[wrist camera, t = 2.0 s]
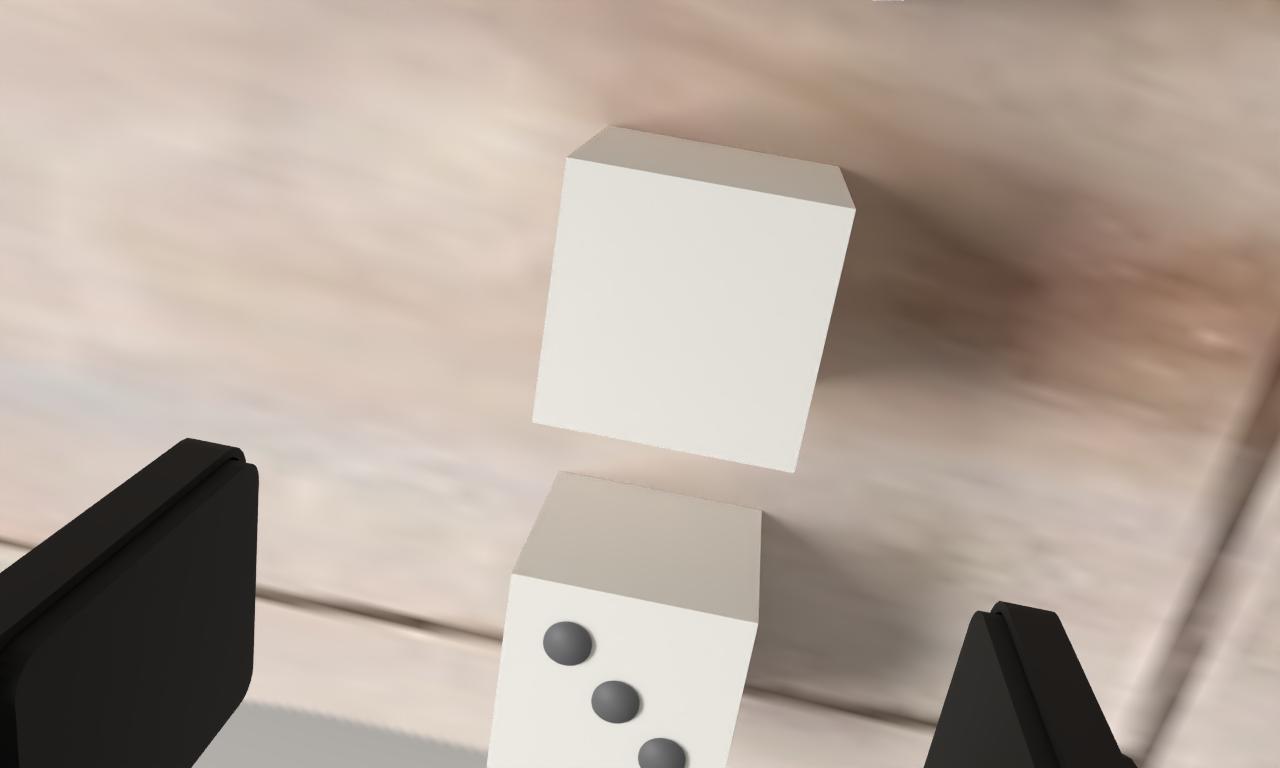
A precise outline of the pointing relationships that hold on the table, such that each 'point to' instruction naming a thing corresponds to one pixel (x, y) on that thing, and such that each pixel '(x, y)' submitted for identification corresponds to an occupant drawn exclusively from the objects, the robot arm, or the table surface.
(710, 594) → the three dot block
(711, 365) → the plain block
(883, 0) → the two dot block
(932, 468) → the table surface
